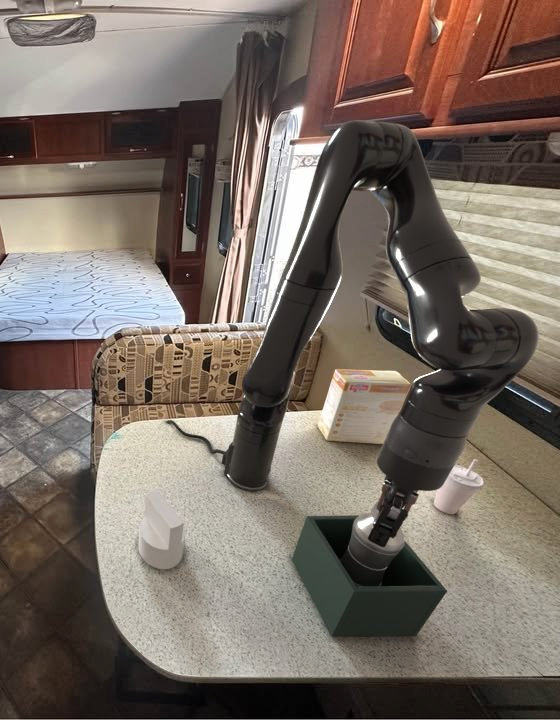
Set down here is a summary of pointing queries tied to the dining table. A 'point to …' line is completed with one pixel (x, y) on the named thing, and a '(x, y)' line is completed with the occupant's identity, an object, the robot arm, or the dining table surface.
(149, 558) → the base with upright slab
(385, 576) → the trash bin
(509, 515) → the dining table surface
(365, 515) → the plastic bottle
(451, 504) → the smoothie
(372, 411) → the coffeecake box
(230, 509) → the dining table surface
